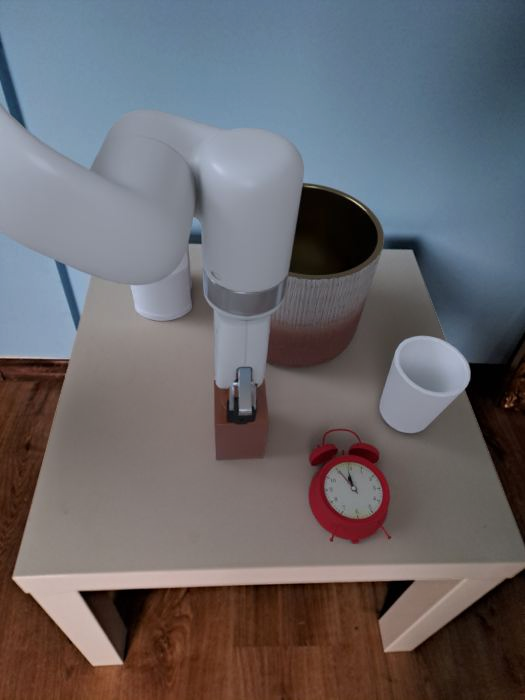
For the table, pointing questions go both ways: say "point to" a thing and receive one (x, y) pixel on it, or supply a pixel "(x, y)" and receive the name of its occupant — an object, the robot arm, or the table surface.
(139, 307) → the jar
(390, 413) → the cup
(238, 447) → the brown handled box
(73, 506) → the table surface
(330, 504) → the alarm clock
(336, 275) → the planter
